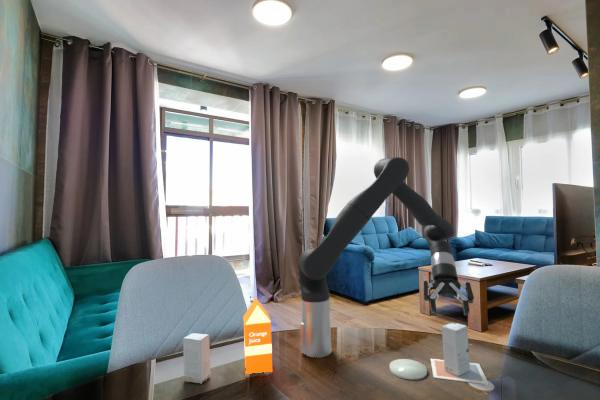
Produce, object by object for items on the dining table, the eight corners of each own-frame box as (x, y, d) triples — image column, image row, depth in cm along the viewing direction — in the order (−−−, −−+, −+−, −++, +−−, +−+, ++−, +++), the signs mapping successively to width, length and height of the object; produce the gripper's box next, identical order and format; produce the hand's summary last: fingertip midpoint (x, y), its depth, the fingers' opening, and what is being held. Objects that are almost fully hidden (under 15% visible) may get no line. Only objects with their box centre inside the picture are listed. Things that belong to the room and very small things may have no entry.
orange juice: (245, 378, 87) (243, 305, 87) (244, 363, 95) (242, 297, 96) (273, 374, 88) (271, 303, 89) (269, 360, 97) (267, 295, 98)
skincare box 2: (459, 377, 83) (456, 330, 83) (443, 370, 86) (440, 326, 87) (471, 369, 86) (468, 325, 87) (455, 363, 90) (453, 321, 90)
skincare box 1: (211, 377, 88) (210, 334, 88) (201, 385, 84) (200, 340, 84) (193, 374, 90) (192, 332, 90) (183, 382, 86) (182, 338, 86)
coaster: (388, 376, 85) (388, 373, 85) (390, 360, 94) (390, 357, 94) (428, 381, 81) (428, 378, 81) (425, 364, 91) (425, 361, 91)
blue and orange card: (433, 377, 83) (433, 377, 83) (430, 359, 94) (430, 358, 94) (488, 384, 79) (488, 383, 79) (479, 364, 89) (479, 363, 89)
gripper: (421, 261, 105) (425, 305, 94) (468, 262, 101) (478, 308, 89) (421, 274, 110) (425, 317, 99) (466, 275, 106) (475, 321, 94)
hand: (450, 313), depth 94 cm, fingers open, 8 cm apart
